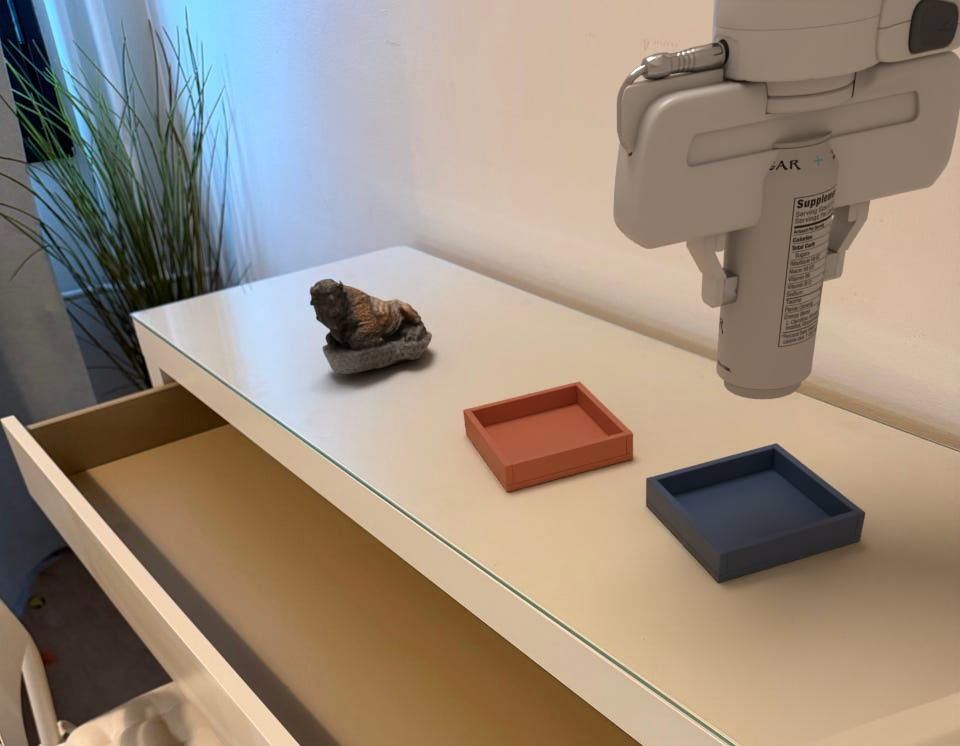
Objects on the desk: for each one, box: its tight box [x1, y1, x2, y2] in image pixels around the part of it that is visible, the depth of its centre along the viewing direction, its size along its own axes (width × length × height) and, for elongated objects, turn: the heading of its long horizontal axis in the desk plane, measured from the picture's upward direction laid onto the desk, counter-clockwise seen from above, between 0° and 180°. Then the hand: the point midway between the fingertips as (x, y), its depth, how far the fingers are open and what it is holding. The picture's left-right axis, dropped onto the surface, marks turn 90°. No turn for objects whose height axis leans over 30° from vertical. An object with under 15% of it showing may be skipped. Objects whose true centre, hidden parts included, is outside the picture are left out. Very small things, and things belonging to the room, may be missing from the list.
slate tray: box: [645, 442, 866, 583], centre depth 68 cm, size 11×11×2 cm
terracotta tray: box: [462, 381, 634, 493], centre depth 80 cm, size 11×11×2 cm
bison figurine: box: [309, 278, 433, 375], centre depth 94 cm, size 12×7×10 cm, turn 122°
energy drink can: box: [715, 131, 839, 400], centre depth 57 cm, size 6×6×15 cm
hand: (771, 290), depth 58 cm, fingers closed on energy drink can, 6 cm apart
